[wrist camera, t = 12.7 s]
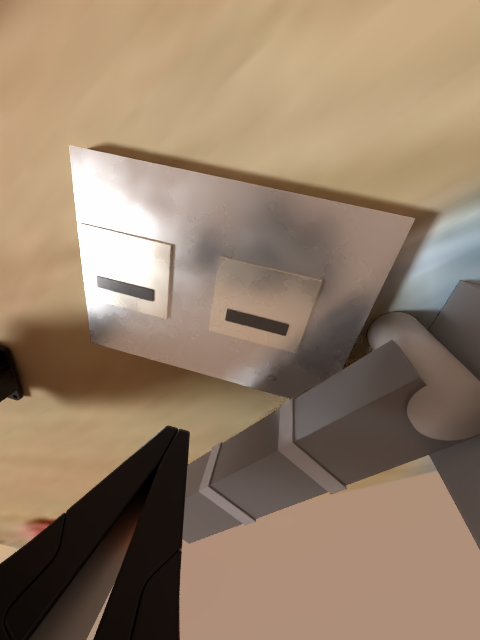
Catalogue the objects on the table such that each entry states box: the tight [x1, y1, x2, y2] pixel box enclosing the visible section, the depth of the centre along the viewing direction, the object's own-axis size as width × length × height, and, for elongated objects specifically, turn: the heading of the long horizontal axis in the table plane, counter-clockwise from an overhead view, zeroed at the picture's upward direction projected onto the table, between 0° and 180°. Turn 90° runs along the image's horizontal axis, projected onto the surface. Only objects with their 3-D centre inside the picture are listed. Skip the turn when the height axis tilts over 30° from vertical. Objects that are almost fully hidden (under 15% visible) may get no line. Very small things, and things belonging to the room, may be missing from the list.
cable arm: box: [182, 312, 480, 543], centre depth 17 cm, size 22×4×7 cm, turn 138°
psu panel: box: [69, 145, 415, 399], centre depth 16 cm, size 18×13×2 cm
